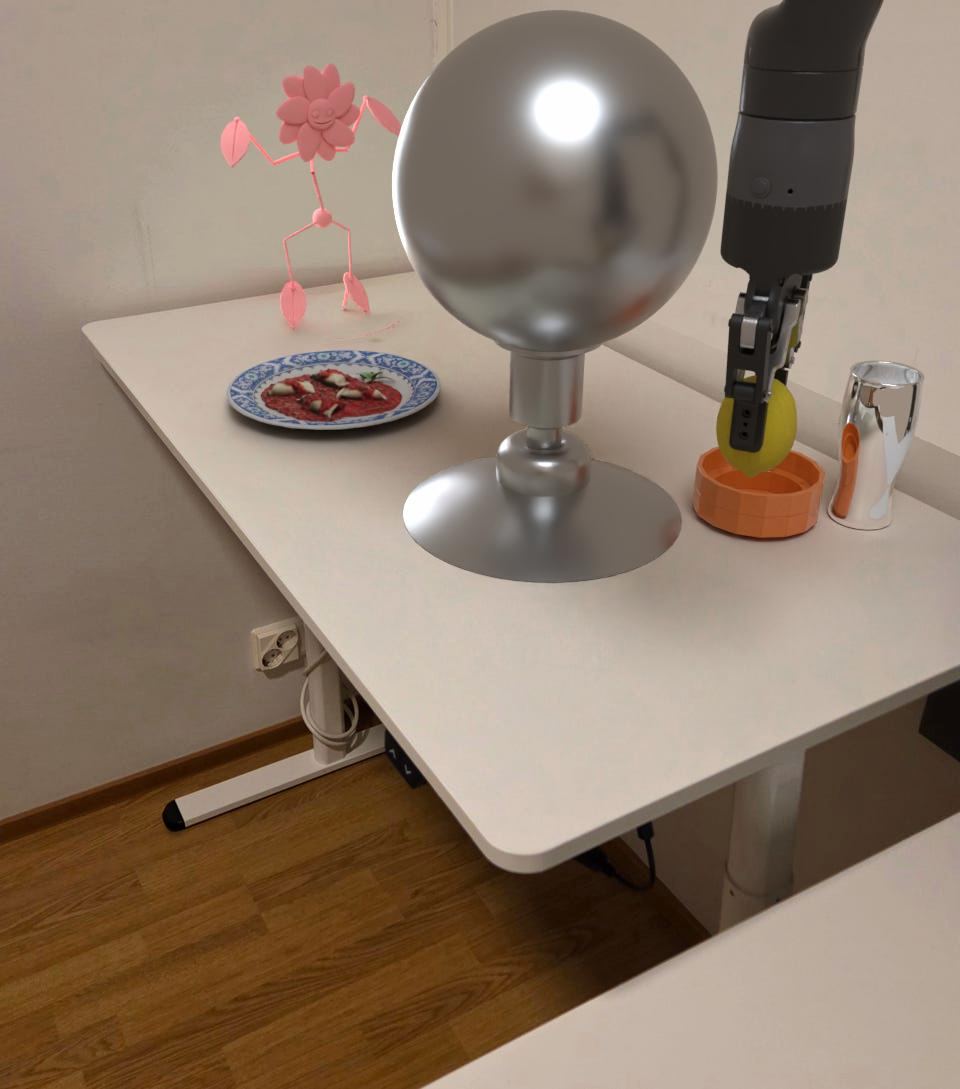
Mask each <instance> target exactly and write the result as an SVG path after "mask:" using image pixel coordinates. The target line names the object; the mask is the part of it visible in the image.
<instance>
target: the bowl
mask: <svg viewBox="0 0 960 1089" xmlns="http://www.w3.org/2000/svg"><path fill="white" fill-rule="evenodd" d="M825 474H826V472H825V470H823V468H822V467H821V466H820V464H819V462H817V461H816V460H814V459H813V458H811V457H808V456H807V455H806V454H803V453H802V452H800V451H795V450H793V449H791V450H790V452H789V454H788V455H787V457H786V458H785V459H784V460H783V462H781V463H780V464H779V465H778V466H776V467H775V468H773V469H771V470H769V471H766V472H761V473H759V474H758V475H756V476H755V477H752V478H750V477H747V476H745V474H744V473H743V472H742V471H741V470H738V469H736V468H735V467H733V466H732V465H730V464H729V463H728V462H727V461H726V459H725V458H724V457H723V455H722V454H721V452H720V449H719V446H715V447H711V448H710V449H709V450H707V451H705V452H704V453H702V454H700V456H699V459H698V460H697V463H696V469H695V477H694V484H693V485H694V488H693V493H692V494H693V496H692V506H693V508H694V510H695V512H696V514H697V516H698V517H700V518H701V519H702V520H704V521H705V522H706V523H708V524H709V525H711V526H712V527H715V528H718V529H721V530H724V531H726V532H729V533H732V534H735V535H740V536H746V537H752V538H785V537H791V536H794V535H799V534H801V533H806V532H807V531H808V530H809V529H811V528H812V527H813V526H815V524H817V523H818V517H819V510H820V506H821V499H822V494H823V489H824V481H825Z"/></svg>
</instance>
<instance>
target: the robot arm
mask: <svg viewBox="0 0 960 1089" xmlns="http://www.w3.org/2000/svg"><path fill="white" fill-rule="evenodd" d="M884 1H885V0H782V1H781V2H780V3H778V4H775V5H773V6H769V7H767V8H765V9H763V10H762V11H760V12H758V13H757V15H756V16H754V18H753V19H752V22H751V24H750V26H749V28H748V32H747V35H746V39H745V40H746V41H745V45H744V46H745V48H744V56H743V66H742V75H741V83H740V84H741V86H740V94H739V105H738V110H739V111H738V113H737V119H736V124H735V129H734V132H733V137H732V141H731V146H730V152H729V163H728V172H727V181H726V182H727V183H726V190H725V200H724V212H723V220H722V221H723V222H722V228H721V229H722V230H721V238H720V240H721V241H720V250H719V252H720V256H721V258H722V260H723V261H724V262H725V263H726V264H727V265H729V266H731V267H733V268H735V269H740V270H741V269H742V270H743V271H744V272H746V274H748V278H749V280H748V281H747V286H746V292H742V291H740V292H739V294H738V296H737V301H736V304H735V311H734V312H733V313H732V314H731V316H730V318H729V319H728V321H727V322H728V323H727V327H728V338H727V352H726V353H727V354H726V371H725V385H724V387H723V393H724V398H725V397H726V398H732V399H734V402H733V411H732V420H731V429H730V437H729V445H730V447H731V448H733V449H735V450H741V451H746V452H752V453H756V452H758V451H759V450H760V449H761V447H762V446H763V442H764V434H765V426H766V419H767V411H768V404H769V399H770V398H771V397H772V391H771V390H772V385H773V380H774V378H775V379H777V380H779V381H780V382H781V383H783V384H784V385H785V386H786V387H788V386H787V385H788V378H789V369H792V367H793V365H794V364H795V358H796V357H795V353H798V351H799V349H801V346H802V340H801V338H802V334H803V329H804V327H803V326H804V320H805V314H806V309H807V305H808V303H809V293H810V292H809V291H810V286H811V282H812V280H813V275H816V274H820V273H824V272H826V271H829V270H830V269H831V268H833V267H834V266H835V265H836V264H837V263H838V261H839V256H840V249H841V242H842V237H843V231H844V223H845V217H846V210H847V204H848V198H849V190H850V185H851V178H852V172H853V165H854V156H855V144H856V143H855V140H856V138H855V136H856V134H855V133H856V119H857V118H856V117H857V115H856V113H857V111H858V104H859V97H860V91H861V84H862V78H863V73H864V72H863V71H864V68H863V67H864V65H865V64H864V63H865V57H866V56H865V54H866V47H867V46H866V45H867V42H868V39H869V37H870V34H871V31H872V30H873V27H874V25H875V22H876V20H877V18H878V16H879V13H880V11H881V8H882V7H883V3H884ZM746 371H749V372H753V373H755V374H754V375H757V377H756V383H754V382H747V381H744V378H745V375H746Z"/></svg>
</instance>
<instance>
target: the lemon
mask: <svg viewBox="0 0 960 1089" xmlns="http://www.w3.org/2000/svg"><path fill="white" fill-rule="evenodd" d="M756 377H757V375H755V374H754V375H751V376H747V377H744V381H747V382H754V383H756ZM771 391H772V397H771V398H770V399H769V404H768V411H767V419H766V426H765V434H764V442H763V446H762V447H761V449H760V450H759V451H758V452H756V453H752V452H746V451H741V450H735V449H733V448H731V447H730V445H729V437H730V429H731V420H732V411H733V402H734V399H732V398H726V397H725V396H724V398H723V400H722V402H721V404H720V407H719V410H718V412H717V413H718V414H717V418H716V426H715V433H716V441H717V447H719V449H720V452H721V454H722V455H723V457H724V458H725V459H726V461H727V462H728V463H729V464H730V465H732V466H733V467H735V468H736V469H738V470H741V471H742V472H743V473H744V474H745V476H747V477H750V478H752V477H755V476H756V475H758V474H759V473H761V472H766V471H769V470H771V469H773V468H775V467H776V466H778V465H779V464H780V463H781V462H783V460H784V459H785V458H786V457H787V455H788V454H789V452H790V450H792V448H793V446H794V443H795V440H796V437H797V431H798V411H797V405H796V400H795V398H794V396H793V394H792V392H791V390H790V389H789V388H788V386H785V385H784V384H783V383H781V382H780V381H779V380H777V379H775V378H774V380H773V385H772V390H771Z"/></svg>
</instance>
